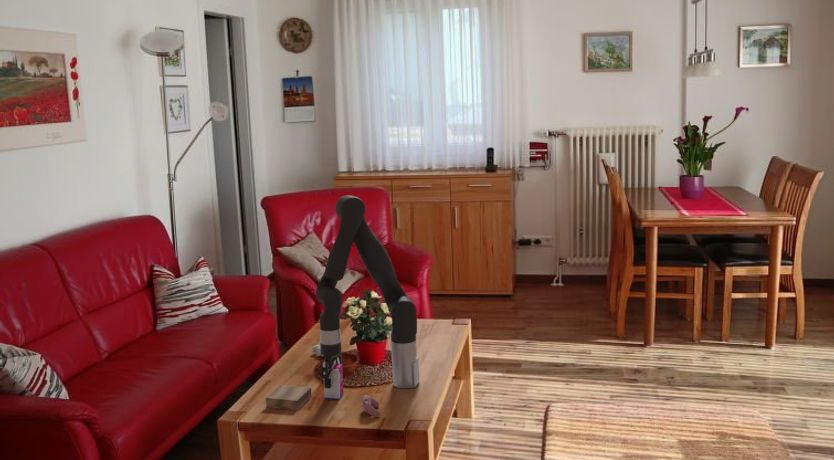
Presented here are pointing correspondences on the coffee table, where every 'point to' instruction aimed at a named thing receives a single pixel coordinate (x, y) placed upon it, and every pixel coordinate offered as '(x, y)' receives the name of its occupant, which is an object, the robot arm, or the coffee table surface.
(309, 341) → the coffee table surface
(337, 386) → the supplement box
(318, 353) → the bunny figurine
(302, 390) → the grey wooden square block
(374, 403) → the pink rounded lump
